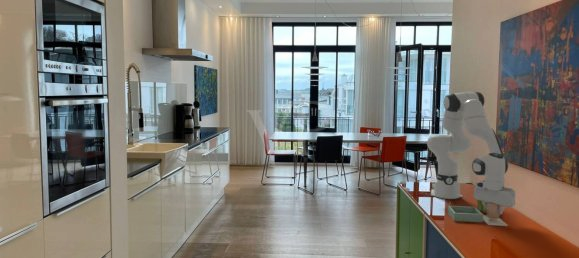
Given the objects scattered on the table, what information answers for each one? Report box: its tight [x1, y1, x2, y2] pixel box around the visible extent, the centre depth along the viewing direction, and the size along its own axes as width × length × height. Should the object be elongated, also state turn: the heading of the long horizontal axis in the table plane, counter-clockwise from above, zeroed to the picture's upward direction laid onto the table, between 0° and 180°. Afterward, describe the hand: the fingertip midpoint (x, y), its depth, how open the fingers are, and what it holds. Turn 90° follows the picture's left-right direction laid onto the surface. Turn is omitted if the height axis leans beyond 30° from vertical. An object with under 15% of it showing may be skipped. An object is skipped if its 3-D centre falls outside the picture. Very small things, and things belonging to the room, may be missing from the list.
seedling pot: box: [486, 202, 501, 219], centre depth 214 cm, size 6×6×8 cm
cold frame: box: [447, 205, 484, 223], centre depth 220 cm, size 14×14×4 cm
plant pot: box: [476, 200, 487, 213], centre depth 232 cm, size 9×9×9 cm
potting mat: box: [483, 214, 509, 227], centre depth 215 cm, size 16×9×1 cm, turn 171°
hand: (493, 211), depth 215 cm, fingers closed on seedling pot, 6 cm apart
